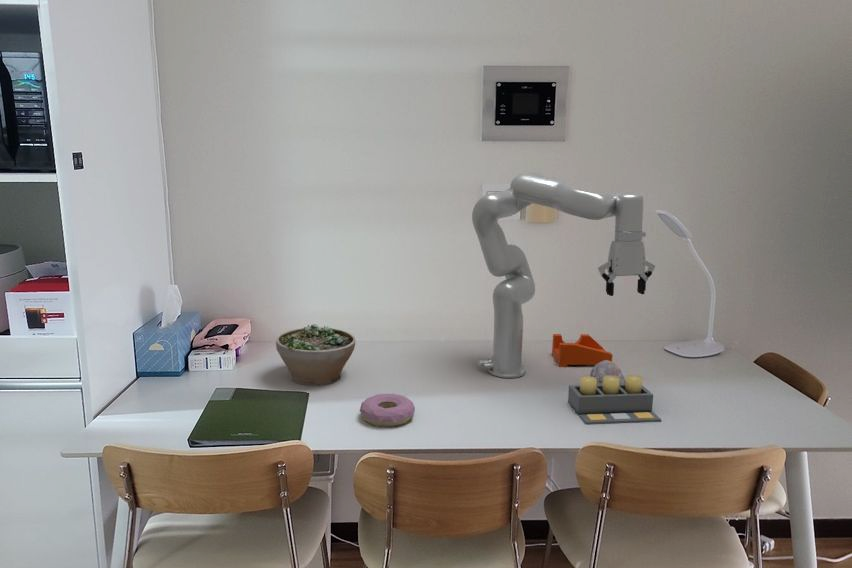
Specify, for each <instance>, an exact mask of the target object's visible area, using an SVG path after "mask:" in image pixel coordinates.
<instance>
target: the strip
mask: <svg viewBox="0 0 852 568" xmlns="http://www.w3.org/2000/svg"><path fill="white" fill-rule="evenodd" d="M578 417H579V418H580V419H581V421H582V422H583V423H584V424H585V425H604V424H605V425H606V424H628V423H653V422H654V423H656V422H658V423H659V422H662V418H661V417H659V415H658V414H656V413H655V412H654V411H652V412H641V413H614V414H587V415H578Z"/></svg>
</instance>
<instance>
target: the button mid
mask: <svg viewBox="0 0 852 568" xmlns="http://www.w3.org/2000/svg"><path fill="white" fill-rule="evenodd" d="M619 382H620V378H619V377H617V376H612V375H606V376H604V377H603V388H602V392H603V393H604V394H605V395H613V394H619Z"/></svg>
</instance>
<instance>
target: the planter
mask: <svg viewBox="0 0 852 568" xmlns="http://www.w3.org/2000/svg"><path fill="white" fill-rule="evenodd" d="M355 346H356V337H354V335H353V334H352V333H350V332H348V331H346V330H342V329H336V328H332V327H329V326H328V325H327V326H325V325H323V327H319V325H318V324H317V323H313V324H311V325H309V324H308V325H307V326H305V327H302V328H297V329H292V330H289V331H286V332H285V331H284V332H283V333H281V334H280V335H278V336H277V338H276V340H275V347H276V350H277V351H276V352H278V354H279V356H280V358H281V360H282V361H283V363H284V364H285V367H286V368H287V369H288V372H289V373H290V380H291V381H292V382H293V383H294V384H297V385H301V386H308V387H317V386H318V387H319V386H320V387H321V386H326V385H327V386H328V385H330V384H333V383H336V382H338V381H340V379H341V374H342V371H343V369H344V367H345V366H346V364H347V362H348V361H349V359H350V358H351V357H352V354H353V352H354V350H355V349H356V348H355Z"/></svg>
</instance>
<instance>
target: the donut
mask: <svg viewBox="0 0 852 568" xmlns="http://www.w3.org/2000/svg"><path fill="white" fill-rule="evenodd" d="M415 411H416V407H415V404H414V402H413V401H412V400H410V399H409V398H408V397H406V396H405V395H402V394H395V393H377V394H374V395H372V396H370V397H367V398H366V399H365V400H364V401H362V402H361V405H360V408H359V412H360V415H361V417H362V419H363V420H364V421H366V422H368V423H370V424H372V425H374V426H375V427H390V428H391V427H392V428H393V427H396V426H400V425H404V424H405V425H406V423H407V422H409V421H410V420H411V419H412V418H414V415H415Z"/></svg>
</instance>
